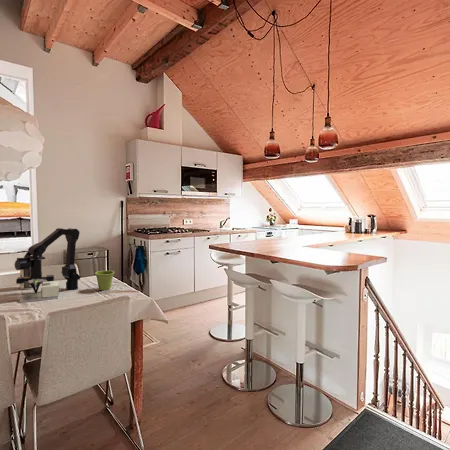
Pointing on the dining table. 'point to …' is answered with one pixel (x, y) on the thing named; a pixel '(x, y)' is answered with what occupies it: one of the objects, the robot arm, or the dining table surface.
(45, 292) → the cover
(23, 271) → the coffee can
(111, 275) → the plant pot
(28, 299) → the housing base
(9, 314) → the dining table surface
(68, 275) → the robot arm
